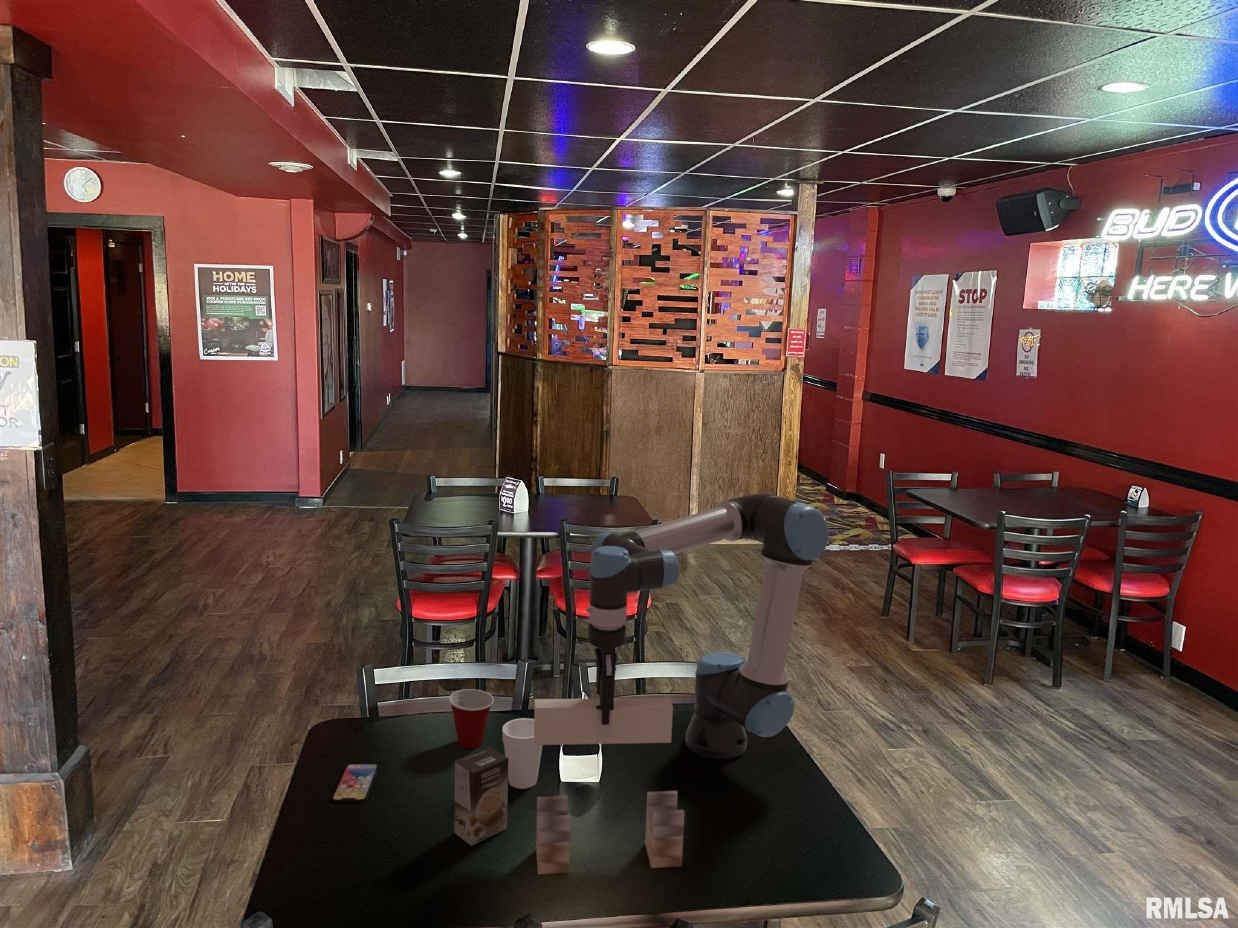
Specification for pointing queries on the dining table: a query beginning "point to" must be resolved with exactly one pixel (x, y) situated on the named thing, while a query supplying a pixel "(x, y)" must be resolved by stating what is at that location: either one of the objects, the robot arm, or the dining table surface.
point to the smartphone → (355, 783)
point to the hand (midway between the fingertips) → (603, 730)
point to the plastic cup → (470, 715)
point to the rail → (580, 721)
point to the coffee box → (481, 795)
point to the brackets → (659, 837)
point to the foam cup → (521, 752)
